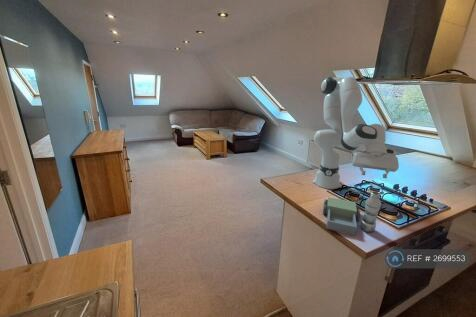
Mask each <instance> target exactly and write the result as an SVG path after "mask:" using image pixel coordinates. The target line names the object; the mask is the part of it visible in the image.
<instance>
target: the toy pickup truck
mask: <svg viewBox="0 0 476 317" xmlns="http://www.w3.org/2000/svg"><path fill="white" fill-rule="evenodd" d="M359 209H360V207H359V205H357V203H356V202H355V201H351V200H346V199H339V198H335V197H327V199H324V202H323V210H322V214H323V215H327V216H326V219H327V220H326V229H327V230H330V231H335V232H338V233H343V234H348V235H352V236H356V235H357V234H356V232H357V229H358V226H357V221H358V222H359V220H360V216H361V212H360V210H359Z"/></svg>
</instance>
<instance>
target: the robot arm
mask: <svg viewBox="0 0 476 317" xmlns="http://www.w3.org/2000/svg"><path fill="white" fill-rule="evenodd" d="M320 91H321V93H322V94H324V95H325V96H324V99H323V122H324V123H325V124H326V125H328V126H329V127H330V128H331V129H320V130H317V131H316V132H315V133H314V135H313V142H314V143H315V145H316V146H317V147H318V148H319V149H320V151H321V163H320V165H319V170H317V171H316V176H315V178H314V179H313V180H312V183H313V184H315V185H317V186H318V187H319V188H323V189H329V190H331V189H332V190H333V189H338V188H342V184H341V182H340V179H341V175H340V174H339V171H340V166H339V165H340V161H341V160H340V159H341V156H340V154H339V153H338V152H337V151H335V150H334V147H343V148H344V149H346V151H347V150H348V151H351V152H352V157H353V159H352V162H351V164H352V167H354V168H355V167H356V168H359V170H360V173H361V176H365V175H366V170H364V169H372V170H376V171H377V170H378V171H384V173H383V174H382V179H387V178H388V174H389V173H390V172H392V173H395V172H397V171H398V170H399V167H400V164H399V158H398V157H397V156H396V155H397V151H395V150H394V149H391V148H388V147H386V145H385V143H386V137H387V136H386V135H387V134H386V130H385V127H384V126H383V125H382V124H380V123H373V124H366V123H358V124H357V125H355V126H354V125H353V119H354V116H355V115H356V112H358V110H359V108H360V107H361V105H362V103H363V94H362V90H361V87H360V85H359V83H358V81H357V80H356V78H355V77H353V76H346V77H337V76H336V77H332V76H330V77H329V76H328V77H325V78H324V79H323V80H322V81H321V84H320ZM362 145H365V150H358V148H359V147H360V146H362Z"/></svg>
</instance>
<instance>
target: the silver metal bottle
mask: <svg viewBox="0 0 476 317" xmlns="http://www.w3.org/2000/svg"><path fill="white" fill-rule="evenodd" d="M369 195H370V196H369V197H368V198H366V200H365V205H364V212H363V213H364V214H363V215H362V216H363V217H362V219H361V221H360V228H361V230H363V231H364V232H367V233H373V232H374V231H375V230H376V228H377V218H378V214H379V212H380V209H381V207H382V202H381V200H380V197H381V192H379V191H376V190H375V191H374V190H372V191H371V192H370V194H369Z"/></svg>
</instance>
